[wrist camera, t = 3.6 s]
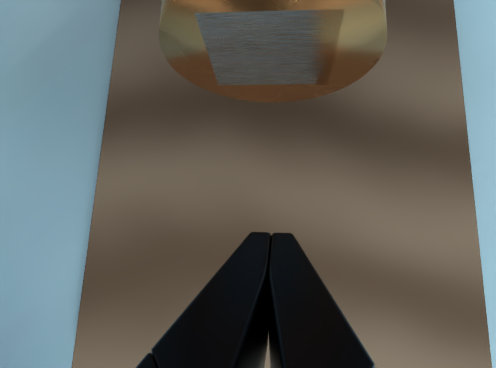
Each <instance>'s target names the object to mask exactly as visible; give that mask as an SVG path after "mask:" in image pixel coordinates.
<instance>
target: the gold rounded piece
mask: <svg viewBox="0 0 496 368" xmlns="http://www.w3.org/2000/svg"><path fill="white" fill-rule="evenodd" d="M159 43H160V48H161V50H162V53H163V55H164V57H165V58H166V60H167V61H168V63H169V64H170V65H171V66H172V67H173V69H174V70H175V71H177V72H178V73H179V74H180V75H181V76H182V77H184V78H185V79H187V80H188V81H190V82H191V83H193V84H195V85H197V86H199V87H201V88H203V89H205V90H208V91H210V92H213V93H216V94H219V95H222V96H226V97H229V98H234V99H239V100H246V101H254V102H291V101H299V100H306V99H311V98H315V97H320V96H323V95H326V94H330V93H332V92H335V91H338V90H340V89H342V88H344V87H346V86H349V85H350V84H352V83H354V82H355V81H357V80H359V79H360V78H361V77H363V76H364V75H365V74H367V73H368V72H369V71H370V70H371V69H372V68H373V67H374V66H375V65H376V63H377V62H378V61H379V59H380V58H381V56H382V54H383V52H384V49H385V46H386V43H387V20H386V2H385V0H162V5H161V15H160V24H159Z"/></svg>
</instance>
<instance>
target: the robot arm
mask: <svg viewBox="0 0 496 368" xmlns="http://www.w3.org/2000/svg"><path fill="white" fill-rule="evenodd" d="M268 336H269V356H270V368H376V367H375V364H374V362H373V360H372V359H371V357H370V356H369V354H368V352H367V351H366V349H365V348H364V346H363V344H362V343H361V341H360V340H359V338H358V336H357V335H356V333H355V332H354V330H353V328H352V327H351V325H350V324H349V322H348V321H347V319H346V317H345V316H344V314H343V313H342V311H341V309H340V308H339V306H338V305H337V303H336V301H335V300H334V298H333V297H332V295H331V294H330V292H329V290H328V289H327V287H326V286H325V284H324V282H323V281H322V279H321V278H320V276H319V274H318V273H317V271H316V270H315V268H314V267H313V265H312V263H311V262H310V260H309V259H308V257H307V255H306V254H305V252H304V251H303V249H302V247H301V246H300V244H299V243H298V241H297V239H296V238H295V236H294V235H293V234H292V233H280V232H275V233H273V234H272V236H271V234H270V233H269V232H251V233H249V234H248V236H247V237H246V238H245V239H244V240H243V242H242V243H241V244H240V245H239V246H238V247H237V249H236V250H235V251H234V252H233V253H232V255H231V256H230V257H229V258H228V259H227V260H226V262H225V263H224V264H223V265H222V266H221V268H220V269H219V270H218V271H217V272H216V273H215V275H214V276H213V277H212V278H211V279H210V281H209V282H208V283H207V284H206V285H205V286H204V288H203V289H202V290H201V291H200V292H199V293H198V295H197V296H196V297H195V298H194V299H193V301H192V302H191V303H190V304H189V305H188V306H187V308H186V309H185V310H184V311H183V312H182V314H181V315H180V316H179V317H178V318H177V319H176V321H175V322H174V323H173V324H172V325H171V327H170V328H169V329H168V330H167V331H166V332H165V334H164V335H163V336H162V337H161V338H160V340H159V341H158V342H157V343H156V344H155V345H154V347H153V348H152V349H151V353H147V354H146V356H145V357H144V358H143V359H142V360H141V362H140V363H139V364H138V365H137V366H136V368H264V366H265V360H266V354H267V347H268Z"/></svg>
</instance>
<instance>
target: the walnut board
mask: <svg viewBox="0 0 496 368" xmlns="http://www.w3.org/2000/svg"><path fill="white" fill-rule="evenodd" d="M385 2H386V20H387V43H386V46H385V49H384V52H383V54H382V56H381V58H380V59H379V61H378V62H377V63H376V65H375V66H374V67H373V68H372V69H371V70H370V71H369V72H368V73H367V74H365V75H364V76H363V77H361V78H360V79H359V80H357V81H355V82H354V83H352V84H350V85H349V86H346V87H344V88H342V89H340V90H338V91H335V92H332V93H330V94H326V95H323V96H320V97H315V98H311V99H306V100H299V101H291V102H254V101H246V100H239V99H234V98H229V97H226V96H222V95H219V94H216V93H213V92H210V91H208V90H205V89H203V88H201V87H199V86H197V85H195V84H193V83H191V82H190V81H188V80H187V79H185V78H184V77H182V76H181V75H180V74H179V73H178V72H177V71H175V70H174V69H173V67H172V66H171V65H170V64H169V63H168V61H167V60H166V58H165V57H164V55H163V53H162V50H161V48H160V43H159V24H160V15H161V5H162V0H121V5H120V12H119V19H118V27H117V34H116V42H115V49H114V57H113V64H112V71H111V79H110V86H109V94H108V101H107V109H106V116H105V123H104V131H103V138H102V146H101V153H100V161H99V168H98V176H97V183H96V190H95V198H94V205H93V213H92V220H91V228H90V235H89V242H88V250H87V257H86V265H85V272H84V280H83V287H82V294H81V302H80V309H79V317H78V324H77V332H76V339H75V347H74V354H73V361H72V368H136V366H137V365H138V364H139V363H140V362H141V360H142V359H143V358H144V357H145V356H146V354H147V353H151V349H152V348H153V347H154V345H155V344H156V343H157V342H158V341H159V340H160V338H161V337H162V336H163V335H164V334H165V332H166V331H167V330H168V329H169V328H170V327H171V325H172V324H173V323H174V322H175V321H176V319H177V318H178V317H179V316H180V315H181V314H182V312H183V311H184V310H185V309H186V308H187V306H188V305H189V304H190V303H191V302H192V301H193V299H194V298H195V297H196V296H197V295H198V293H199V292H200V291H201V290H202V289H203V288H204V286H205V285H206V284H207V283H208V282H209V281H210V279H211V278H212V277H213V276H214V275H215V273H216V272H217V271H218V270H219V269H220V268H221V266H222V265H223V264H224V263H225V262H226V260H227V259H228V258H229V257H230V256H231V255H232V253H233V252H234V251H235V250H236V249H237V247H238V246H239V245H240V244H241V243H242V242H243V240H244V239H245V238H246V237H247V236H248V234H249V233H251V232H269V233H270V234H271V236H272V234H273V233H275V232H280V233H292V234H293V235H294V236H295V238H296V239H297V241H298V243H299V244H300V246H301V247H302V249H303V251H304V252H305V254H306V255H307V257H308V259H309V260H310V262H311V263H312V265H313V267H314V268H315V270H316V271H317V273H318V274H319V276H320V278H321V279H322V281H323V282H324V284H325V286H326V287H327V289H328V290H329V292H330V294H331V295H332V297H333V298H334V300H335V301H336V303H337V305H338V306H339V308H340V309H341V311H342V313H343V314H344V316H345V317H346V319H347V321H348V322H349V324H350V325H351V327H352V328H353V330H354V332H355V333H356V335H357V336H358V338H359V340H360V341H361V343H362V344H363V346H364V348H365V349H366V351H367V352H368V354H369V356H370V357H371V359H372V360H373V362H374V364H375V367H376V368H492V363H491V353H490V344H489V334H488V325H487V315H486V306H485V296H484V287H483V277H482V268H481V258H480V249H479V239H478V230H477V220H476V211H475V201H474V192H473V182H472V173H471V163H470V154H469V144H468V135H467V125H466V116H465V106H464V97H463V87H462V78H461V68H460V59H459V49H458V40H457V30H456V20H455V11H454V1H453V0H385ZM264 368H270V356H269V336H268V347H267V354H266V360H265V366H264Z"/></svg>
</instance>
